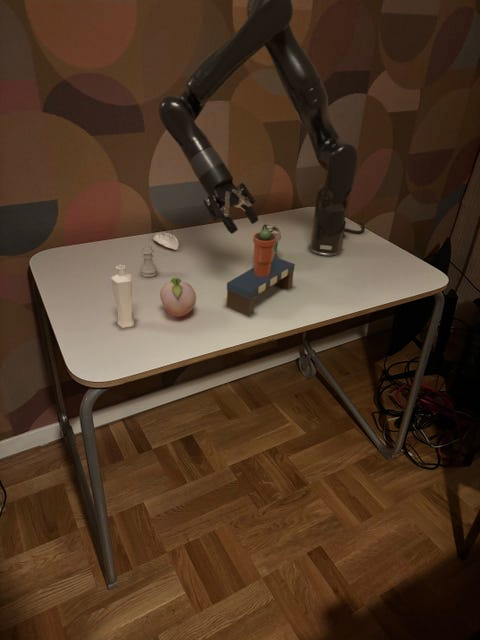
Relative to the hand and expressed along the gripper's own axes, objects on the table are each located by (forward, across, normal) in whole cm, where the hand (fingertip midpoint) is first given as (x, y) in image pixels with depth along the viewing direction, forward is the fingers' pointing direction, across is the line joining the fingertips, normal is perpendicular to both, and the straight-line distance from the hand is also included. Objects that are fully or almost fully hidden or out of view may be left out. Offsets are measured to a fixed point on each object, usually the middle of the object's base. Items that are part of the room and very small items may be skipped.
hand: (245, 227), depth 125 cm
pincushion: (-12, +6, +37) cm, 39 cm away
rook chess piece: (-4, -11, +30) cm, 32 cm away
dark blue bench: (+17, 0, +8) cm, 19 cm away
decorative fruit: (+10, -21, +15) cm, 28 cm away
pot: (+12, 0, +3) cm, 12 cm away
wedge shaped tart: (+10, +18, +16) cm, 26 cm away
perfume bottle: (+5, -32, +20) cm, 38 cm away
